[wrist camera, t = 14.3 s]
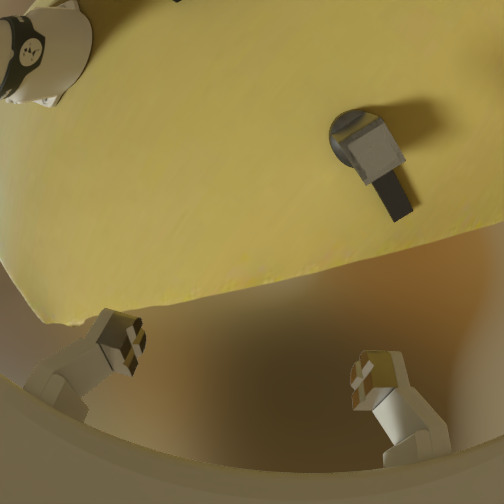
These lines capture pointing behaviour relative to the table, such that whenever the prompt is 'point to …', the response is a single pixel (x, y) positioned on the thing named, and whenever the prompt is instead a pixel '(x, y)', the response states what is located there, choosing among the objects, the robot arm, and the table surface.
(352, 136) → the socket
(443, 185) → the table surface
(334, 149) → the ratchet
